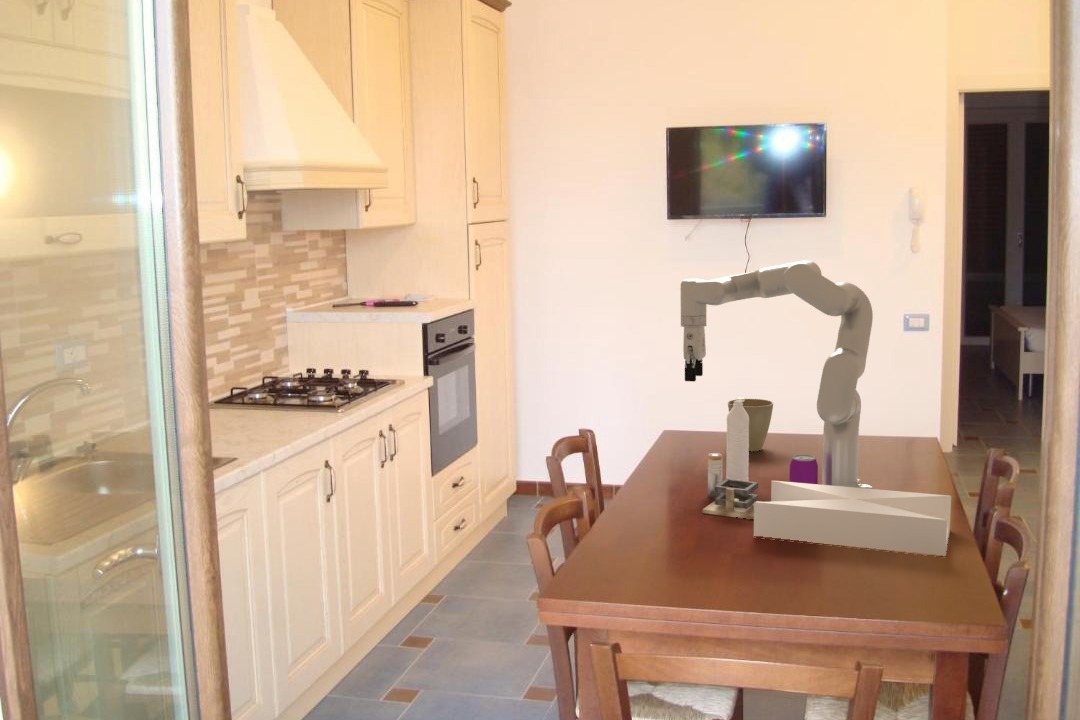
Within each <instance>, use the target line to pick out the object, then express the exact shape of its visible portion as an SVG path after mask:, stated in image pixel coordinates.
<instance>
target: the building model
mask: <svg viewBox="0 0 1080 720" xmlns="http://www.w3.org/2000/svg"><path fill="white" fill-rule="evenodd" d="M770 486H771V487H770V490H771V491H770V497H771V498H770V501H761V502H754V519H753V537H754V536H763V537H772V538H781V539H790V540H799V541H807V542H813V543H824V544H834V545H845V546H846V545H847V546H856V547H867V548H876V549H884V550H885V549H886V550H895V551H906V552H916V553H917V552H918V553H925V554H926V553H927V554H936V555H943V556H946V557H947V552H946V551H948V545H949V539H948V538H950V531H951V510H952V495H949V494H947V495H945V494H935V493H933V494H932V493H925V492H911V491H900V490H899V491H898V490H888V489H887V490H885V489H877V488H873V489H866V488H854V487H843V486H831V485H822V484H807V483H796V482H789V481H782V480H781V481H780V480H771V485H770ZM813 543H812V544H813ZM947 544H948V545H947Z"/></svg>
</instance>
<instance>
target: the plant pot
mask: <svg viewBox="0 0 1080 720" xmlns="http://www.w3.org/2000/svg"><path fill="white" fill-rule="evenodd" d="M734 401H736V399H731V400H729V401H727V407H728V413H729V412H730V410H731V409H732V408H733V406H734ZM742 404H743V405H742V406H743V408H744V409H745V411H746V412H747V414H748V416H749V449H748V450H749V451H751V453H752V452H753V451H754V452H760V451H762V449H763V446H764V443H765V442H766V438H767V436H768V432H769V429H770V425H771V419H772V415H773V409H774V402H773V401H772V400H768V399H762V398H745V401H744V402H742ZM759 450H760V451H759Z"/></svg>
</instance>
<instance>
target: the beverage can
mask: <svg viewBox="0 0 1080 720" xmlns="http://www.w3.org/2000/svg"><path fill="white" fill-rule="evenodd" d="M818 475H819V464H818V461H817V459H816V457H815V456H814V455H810V454H795V455H792V458H791V460H790V463H789V476H788V477H789V480H788V482H796V483H807V484H818V483H819V482H818V477H819V476H818Z"/></svg>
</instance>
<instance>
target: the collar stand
mask: <svg viewBox="0 0 1080 720" xmlns="http://www.w3.org/2000/svg"><path fill="white" fill-rule="evenodd" d="M730 485H731V486H732V487H729V486H730ZM757 489H759V482H758V481H747V480H742V479H740V480H734V479H726V478H725V479H724V480H722V482H721V483H720V484H718V485H716V486H715V492H719V493H722V495H720V496H719V497H717V498H714V501H712V502H711V503H710V504H709V505H707V506H705V507H704V508H702V513H703V514H707V515H708V514H709V515H715V516H723V517H730V518H736V517H738V518H737V519H743V518H746V519H745V520H750V519H753V520H754V502H762V501H761V500H760V501H759V494H753V493H754V492H755V491H756V490H757Z"/></svg>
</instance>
